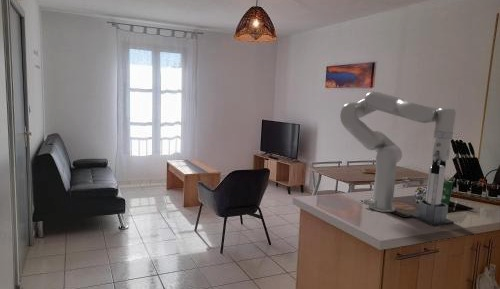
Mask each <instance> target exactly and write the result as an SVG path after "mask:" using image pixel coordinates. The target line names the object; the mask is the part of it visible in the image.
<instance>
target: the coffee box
mask: <svg viewBox="0 0 500 289" xmlns="http://www.w3.org/2000/svg"><path fill="white" fill-rule="evenodd" d="M453 185H454V181H451V180H446V179H444V184H443V192H442V200H441V202H442V203H445V204H447V205H448V206H449V205H450V202H451V196H452V191H453Z"/></svg>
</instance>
